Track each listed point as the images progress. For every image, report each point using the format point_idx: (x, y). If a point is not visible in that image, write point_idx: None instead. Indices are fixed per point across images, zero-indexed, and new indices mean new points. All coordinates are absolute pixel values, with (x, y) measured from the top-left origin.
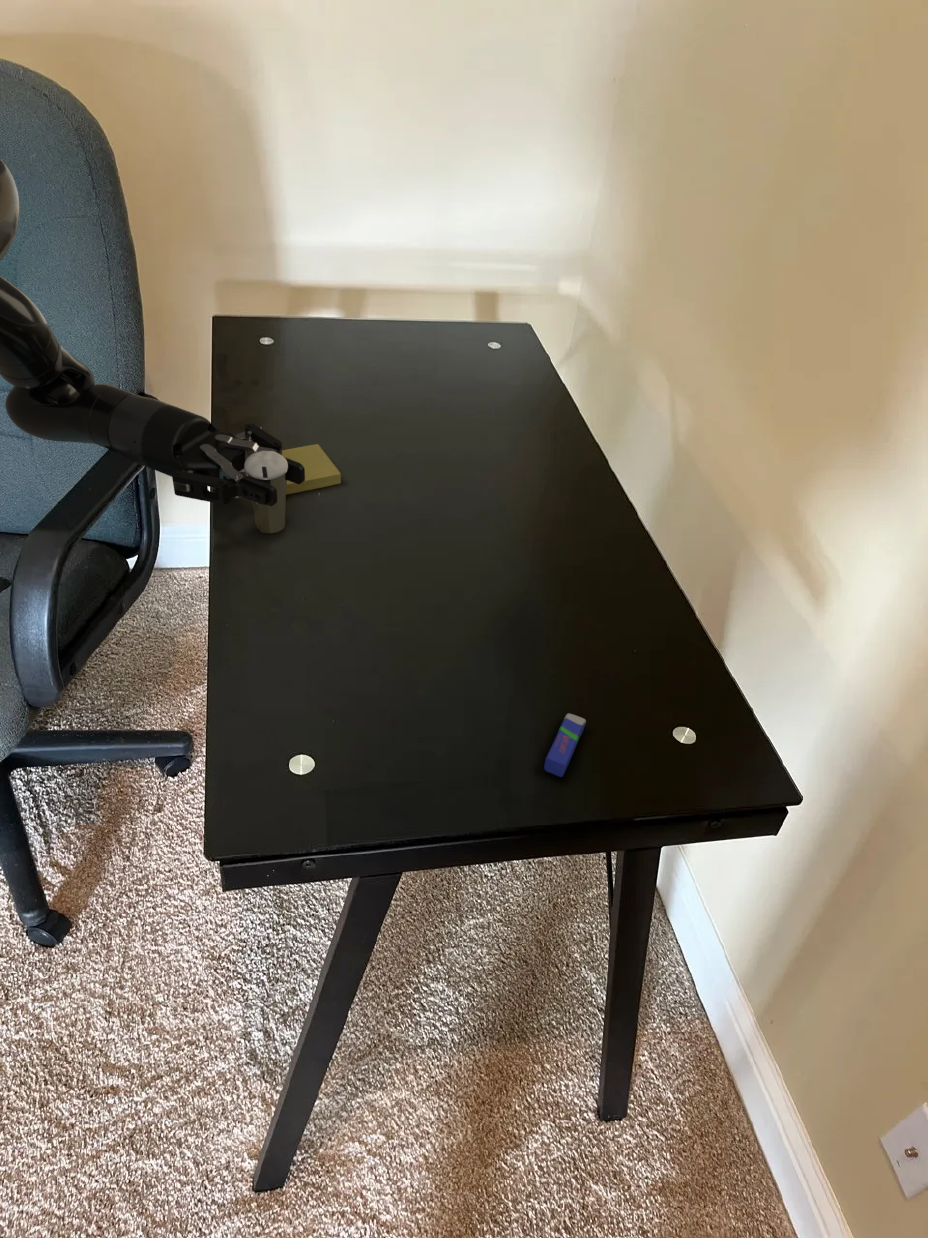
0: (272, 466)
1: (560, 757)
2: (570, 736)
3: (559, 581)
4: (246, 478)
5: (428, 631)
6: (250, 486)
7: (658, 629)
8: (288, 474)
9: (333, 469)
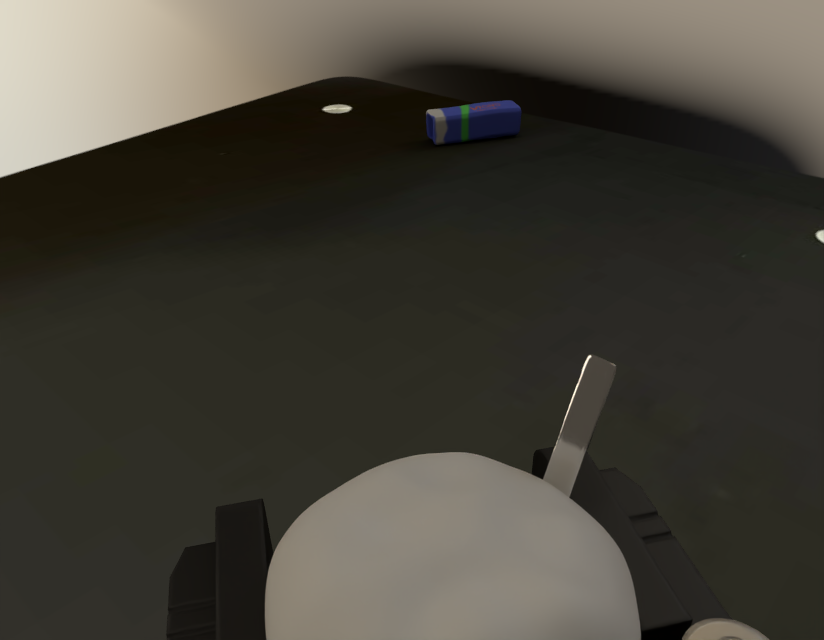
0: (472, 465)
1: (506, 103)
2: (468, 107)
3: (98, 236)
4: (666, 610)
5: (423, 279)
6: (663, 571)
7: (150, 154)
8: None
9: None
